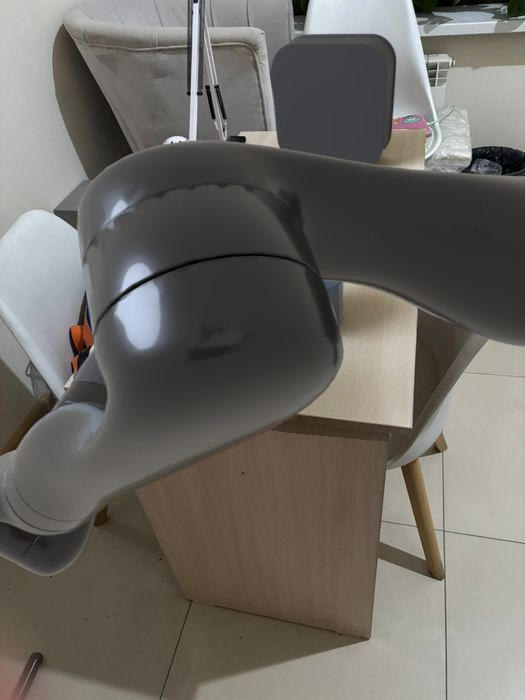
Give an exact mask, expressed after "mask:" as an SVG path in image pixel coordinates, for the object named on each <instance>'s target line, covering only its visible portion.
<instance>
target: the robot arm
mask: <svg viewBox="0 0 525 700" xmlns="http://www.w3.org/2000/svg"><path fill="white" fill-rule="evenodd" d="M76 222H77V223H76V224H77V228H76V229H77V239H78V247H79V254H80V261H81V267H82V268H81V269H82V276H83V280H84V288H85V293H86V301H87V307H88V315H89V320H90V327H91V333H92V334H91V335H92V338H93V347H94V349H92V351H91V352H90V353H89V355H88V356H87V358H86V359H85V360H84V361H83V363H82V364H81V366H80V367H79V368H78V371H77V373H76V374H75V376H74V378H73V380H72V381H71V383H70V384H69V386H68V387H67V389H66V390H65V391H64V393H63V394H62V395H61V397H60V398H59V400H58V401H57V402H56V404H55V405H54V406H53V408H52V409H51V411H49V412H48V413H46V414H45V415H44V416H42V417H41V418H40V419H39V420H37V421H36V422H35V423H34V424H33V425H32V426H31V428H30V429H29V430H28V432H27V433H26V434H25V435H24V436H23V438H22V439H21V441H20V442H19V444H18V446H17V447H16V449H14V450H11V451H9V452H7V453H4V454H2V455H0V557H2V558H4V559H6V560H7V561H10V562H12V563H14V564H16V565H18V566H19V567H21V568H23V569H25V570H27V571H29V572H32V573H33V574H35V575H39V576H44V577H50V576H53V575H54V576H55V575H57V574H60V573H61V572H63V571H65V570H67V569H68V568H69V567H71V566H72V565H73V564H74V563H75V562H76V561H77V560H78V559H79V558H80V557H81V555H82V554H83V552H84V551H85V549H86V547H87V545H88V542H89V541H90V538H91V535H92V532H93V529H94V526H95V523H96V519H97V514H98V513H100V512H101V511H102V510H103V509H105V508H106V507H107V506H108V505H109V504H110V503H112V502H114V500H116V499H118V498H120V497H122V496H123V495H125V494H128V493H131V492H133V491H135V490H138V489H140V488H143V487H145V486H148V485H151V484H153V483H155V482H158V481H160V480H163V479H165V478H168V477H170V476H172V475H175V474H177V473H179V472H182V471H184V470H186V469H188V468H190V467H192V466H195V465H197V464H199V463H201V462H204V461H206V460H208V459H210V458H212V457H215V456H217V455H220V454H221V453H223V452H226V451H228V450H230V449H232V448H234V447H236V446H239V445H241V444H244V443H245V442H247V441H250V440H251V439H254V438H256V437H258V436H260V435H263V434H265V433H266V432H268V431H270V430H272V429H274V428H276V427H278V426H280V425H282V424H283V423H285V422H286V421H288V420H290V419H291V418H294V417H295V416H296V415H297V414H299V413H300V412H302V411H303V410H305V409H306V408H308V407H309V406H310V405H312V404H313V403H314V402H315V401H316V400H317V399H318V398H319V397H321V396H322V394H325V392H326V391H327V389H328V388H329V387H330V386H331V385H332V384H333V382H334V380H335V379H336V377H337V375H338V373H339V372H340V369H341V367H342V364H343V360H344V353H345V350H344V341H343V336H342V332H341V328H340V327H339V324H338V321H337V318H336V314H335V311H334V308H333V305H332V303H331V300H330V297H329V294H328V291H327V289H326V286H325V284H324V281H334V282H343V284H351V285H356V286H360V287H365V288H369V289H371V290H372V289H373V290H376V291H378V292H382V293H384V294H386V295H388V296H392V297H394V298H396V299H398V300H401V301H403V302H405V303H407V304H408V305H411V306H413V307H415V308H417V309H418V310H421V311H423V312H425V313H427V314H428V315H431V316H433V317H435V318H437V319H439V320H441V321H444V322H446V323H447V324H450V325H452V326H455V327H457V328H460V329H462V330H465V332H466V331H467V332H469V333H470V334H471V333H472V334H473V335H476V336H479V337H481V338H484V339H487V340H490V341H493V342H496V343H502V344H504V345H510V346H514V347H515V346H516V347H519V348H520V347H521V348H525V175H522V176H521V175H516V176H515V175H500V174H487V173H486V174H485V173H473V172H458V171H443V170H439V171H438V170H427V169H426V170H425V169H414V168H405V167H398V166H389V165H383V164H376V163H374V164H371V163H365V162H359V161H353V160H347V159H341V158H335V157H329V156H323V155H317V154H311V153H306V152H300V151H294V150H288V149H282V148H280V147H277V146H276V147H275V146H271V145H270V146H269V145H263V144H255V143H247V142H238V141H229V140H211V139H210V140H207V139H206V140H205V139H204V140H202V139H201V140H200V139H199V140H184V141H177V142H170V143H164V144H158V145H154V146H151V147H148V148H144V149H141V150H138V151H136V152H132V153H130V154H128V155H125V156H123V157H121V158H120V159H118V160H117V161H115V162H113V163H111V164H110V165H108V166H106V167H105V168H104V169H103V170H102V171H101V172H100V173H99V174H98V175H97V176H96V177H94V178H93V180H91V181H90V183H89V184H88V185H87V188H86V189H85V191H84V193H83V195H82V197H81V199H80V201H79V205H78V209H77V221H76Z"/></svg>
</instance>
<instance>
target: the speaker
mask: <svg viewBox="0 0 525 700" xmlns="http://www.w3.org/2000/svg"><path fill="white" fill-rule="evenodd" d="M396 75H397V55H396V51H395V48H394V46H393V45H392V43H391V42H390V41H389V40H388V38H386V37H384V36H382V35H380V34H378V33H309V34H307V33H305V34H300V35H298V36H295V37H294V38H293V39H292V40H291V41H290V42H289V43H287V44H284V45H283V46H282V47H280V48H279V49H278V50H277V52H275V54H274V57H273V59H272V62H271V82H272V93H273V96H272V97H273V107H274V117H275V129H276V130H275V131H276V139H277V140H276V141H277V144H278V148H282V149H288V150H294V151H300V152H306V153H311V154H317V155H323V156H329V157H335V158H341V159H347V160H353V161H359V162H365V163H371V164H376V163H377V162H378V160H379V159H380V158H381V156H382V155H383V151H384V150H386V148H387V147H388V145H389V144H390V142H391V139H392V133H393V122H394V106H395V93H396V91H395V90H396Z"/></svg>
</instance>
